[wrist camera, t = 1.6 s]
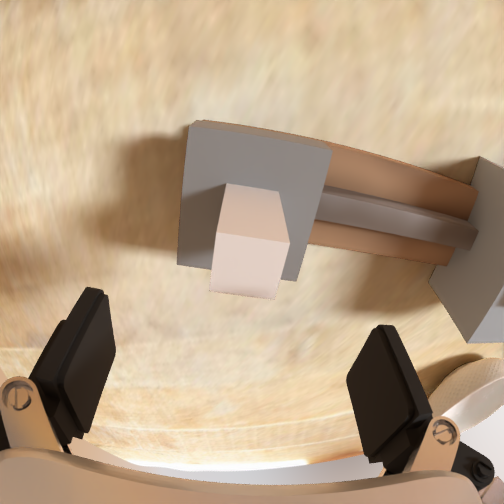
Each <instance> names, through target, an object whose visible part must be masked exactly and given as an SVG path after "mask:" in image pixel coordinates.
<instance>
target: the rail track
mask: <svg viewBox="0 0 504 504" xmlns="http://www.w3.org/2000/svg"><path fill="white" fill-rule="evenodd" d="M203 121H208V122H216V123H223V124H230V125H237V126H244V127H250V128H256V129H262V130H267V131H273V132H278V133H284V132H279V131H274V130H268V129H263V128H257V127H251V126H245V125H238V124H231V123H224V122H217V121H209V120H203ZM284 134H289V135H294V136H299V135H295V134H290V133H284ZM299 137H303V138H308V139H313V138H309V137H304V136H299ZM313 140H317V141H322V140H318V139H313ZM322 142H324V143H325V144H326V145H327V146H328V147H329V148H330V149H331V150H332V151H333V152H332V156H331V160H330V164H329V168H328V172H327V176H326V179H325V183H324V187H323V190H322V194H321V198H320V202H319V205H318V209H317V212H316V216H315V219H314V223H313V227H312V230H311V233H310V237H309V240H308V243H311V244H317V245H323V246H329V247H336V248H342V249H348V250H354V251H360V252H366V253H372V254H378V255H384V256H390V257H396V258H402V259H407V260H413V261H419V262H425V263H430V264H436V265H442V266H447V265H448V263H449V261H450V259H451V257H452V255H453V253H454V250H455V248H460V249H465V250H469V251H470V250H471V248H472V245H473V243H474V241H475V239H476V237H477V234H478V232H479V231H478V230H477V229H476V228H475V227H474V226H473V225H472V224H470V223H469V222H468V219H469V216H470V214H471V211H472V209H473V206H474V204H475V201H476V198H477V196H478V193H479V191H477V190H476V189H475V188H473V187H472V186H470V185H468V184H465V183H462V182H460V181H457V180H454V179H452V178H449V177H446V176H443V175H440V174H438V173H435V172H432V171H429V170H426V169H423V168H420V167H417V166H414V165H411V164H407V163H404V162H401V161H398V160H394V159H391V158H388V157H384V156H381V155H377V154H374V153H370V152H366V151H363V150H359V149H355V148H351V147H347V146H343V145H339V144H335V143H331V142H327V141H322Z"/></svg>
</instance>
